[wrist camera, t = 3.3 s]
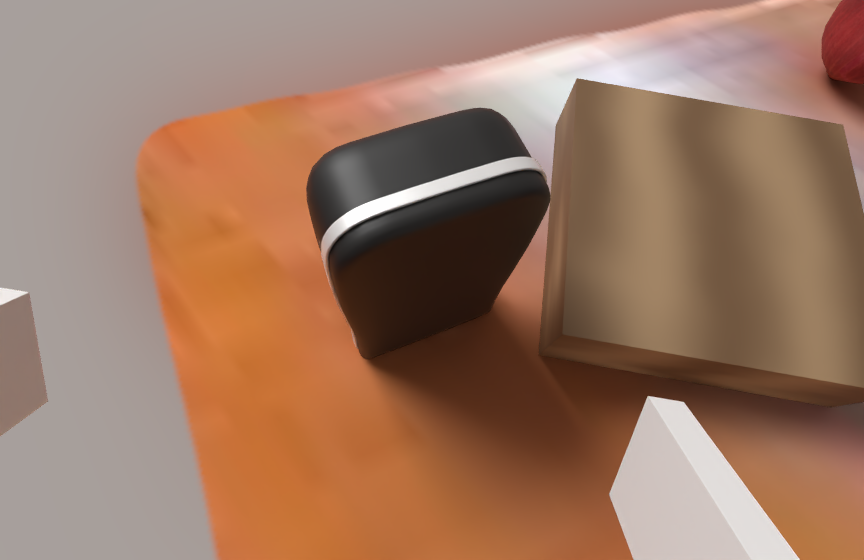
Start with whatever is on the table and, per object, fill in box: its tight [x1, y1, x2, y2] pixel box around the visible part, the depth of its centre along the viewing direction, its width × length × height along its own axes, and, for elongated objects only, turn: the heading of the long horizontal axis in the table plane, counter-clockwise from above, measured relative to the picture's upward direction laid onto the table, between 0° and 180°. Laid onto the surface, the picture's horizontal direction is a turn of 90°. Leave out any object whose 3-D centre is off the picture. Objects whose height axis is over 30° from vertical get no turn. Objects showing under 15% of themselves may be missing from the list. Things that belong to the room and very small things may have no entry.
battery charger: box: [306, 108, 550, 359], centre depth 17 cm, size 7×4×11 cm, turn 113°
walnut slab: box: [539, 78, 864, 407], centre depth 23 cm, size 14×14×4 cm
